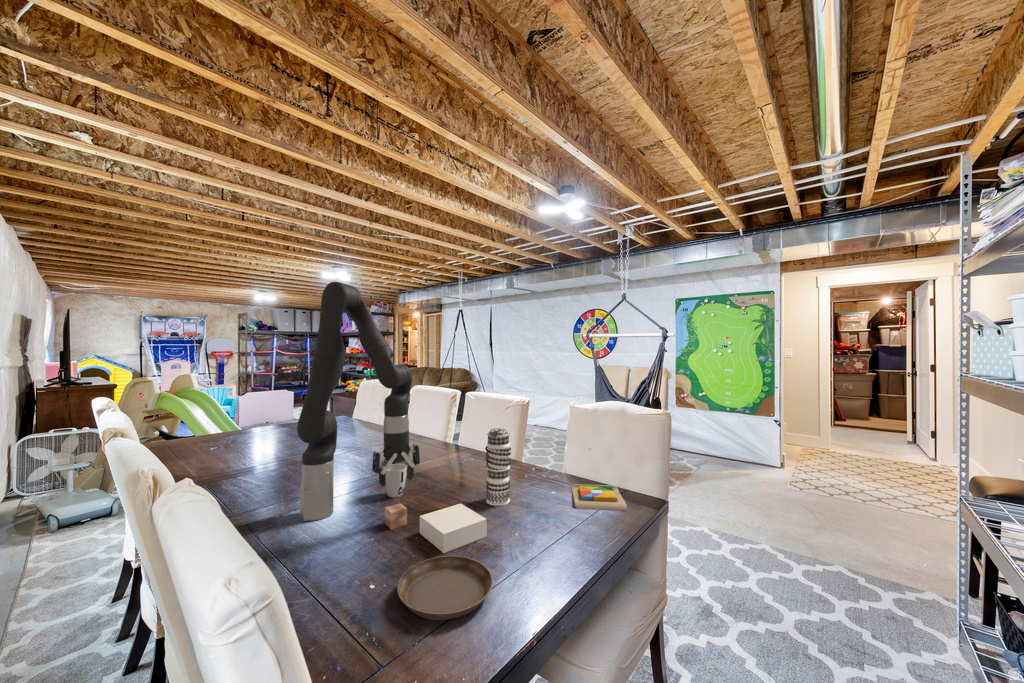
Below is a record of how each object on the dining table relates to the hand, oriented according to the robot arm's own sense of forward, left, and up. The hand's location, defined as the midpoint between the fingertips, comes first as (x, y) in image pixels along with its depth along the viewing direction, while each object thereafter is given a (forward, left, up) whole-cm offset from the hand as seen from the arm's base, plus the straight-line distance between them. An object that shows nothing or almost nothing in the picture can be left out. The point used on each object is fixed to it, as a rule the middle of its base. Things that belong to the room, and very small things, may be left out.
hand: (396, 482), depth 119 cm
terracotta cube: (0, 0, -13) cm, 13 cm away
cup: (+9, +22, -13) cm, 27 cm away
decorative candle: (+35, -6, -13) cm, 38 cm away
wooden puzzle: (+64, -27, -14) cm, 71 cm away
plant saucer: (-5, -39, -13) cm, 41 cm away
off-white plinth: (+10, -17, -13) cm, 23 cm away
